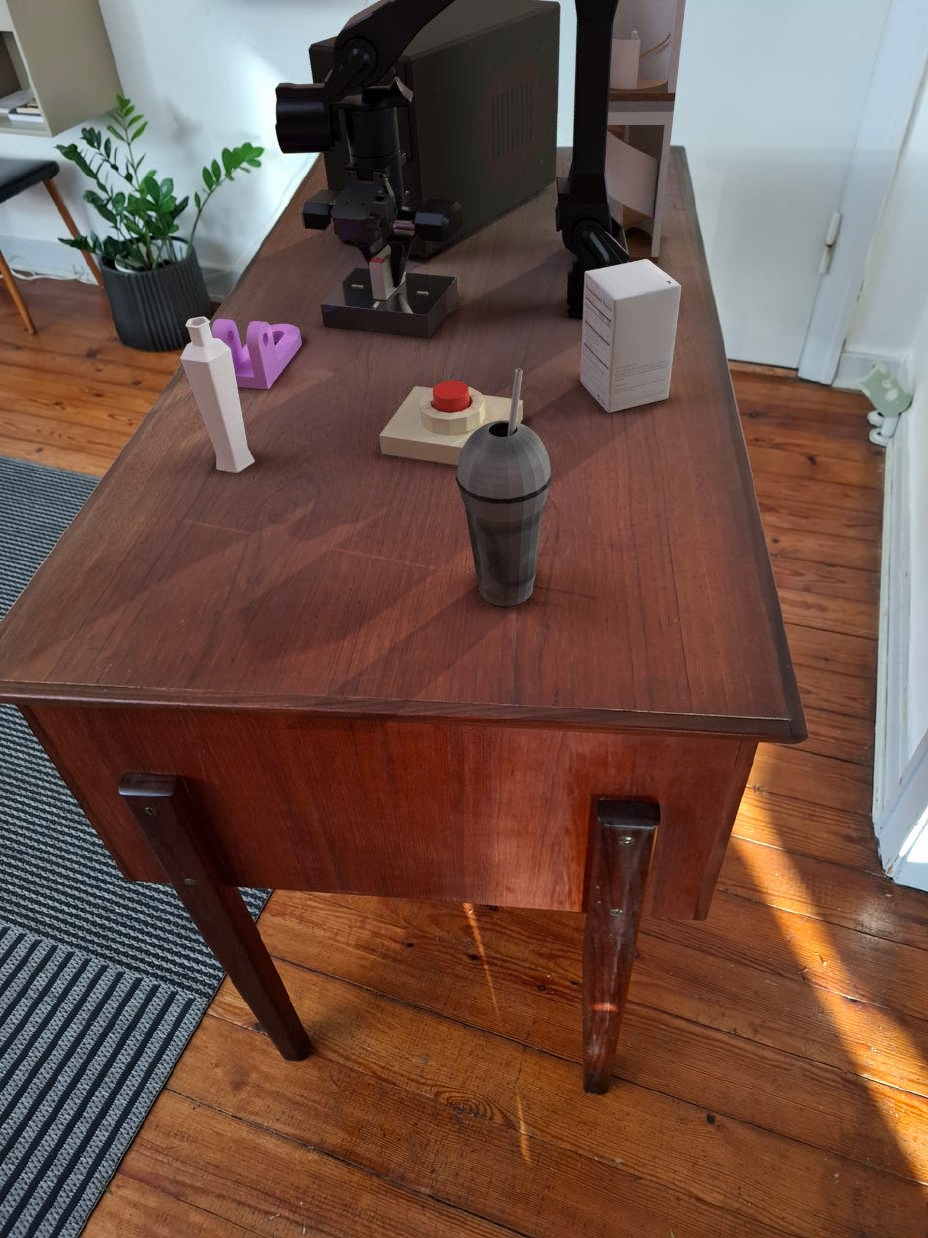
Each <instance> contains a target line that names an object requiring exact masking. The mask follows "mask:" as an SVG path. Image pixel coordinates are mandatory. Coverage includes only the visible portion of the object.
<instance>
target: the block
mask: <svg viewBox="0 0 928 1238" xmlns="http://www.w3.org/2000/svg"><path fill="white" fill-rule="evenodd" d="M433 388H434V387H427V386H418V385H415V386H414V387H413V388H412V390H411V391H410V392H409V394H408V395H407V397H406V398H405V399H404V400H403V402H402V403H401V405H400V406H399V407H398V409H397V410H396V412H395V413H394V414H393V415H392V417H391V419H389V422H387V424H386V425H385V427H384V428H383V430H382V431H381V432H380V434H379V442H380V450H381V454H382V455H388V456H395V457H400V458H401V457H402V458H407V459H413V460H414V459H415V460H419V461H420V460H421V461H426V462H427V461H428V462H434V463H440V464H445V465H451V466H452V465H453V466H458V462H459V456H460V452H461V450H462V447H463V446H464V444H465V443H466V441H467V440H468V438H469V437H470V436H471V435H472V434H473V432H475V431H476V430H477V429H479V428H480V427H482V426H483V425H485V424H488V423H490V422H494V421H499V420H509V419H510V411H511V403H512V398H511V397H502V396H495V395H487V394H482V393H481V392H480V391H478V390H477V389H476V388H473V387H471V386H468V388H469V407H468V408H467V409H465V410H463V411H460V412H454V413H445V412H439V411H437V410H436V409H435V408H434V402H433ZM523 419H524V400H523V399H519V405H518V413H517V421H516V422H518V423H520V424H522V421H523Z"/></svg>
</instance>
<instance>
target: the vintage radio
mask: <svg viewBox="0 0 928 1238" xmlns="http://www.w3.org/2000/svg"><path fill="white" fill-rule="evenodd" d="M561 8H562V7H561V4H560V2H559V1H555V0H455V1H454V2H453V3H451V4H450V5H449V6H448V7H447V8H445V9H444V10H443V11H442V12H441V13H440V14H438V15H437V16H436V17H435V18H434V19H432V20H431V21H430V22H429V23H428V24H427V25H425V26H424V27H423V28H422V29H421V30H420V31H419V33H418V34H417V35H416V36H415V37H414V39H413V40H412V41H411V43H410V44H409V45H408V47H407V48H406V49H405V51H404V52H403V53H402V54H401V56H400V57H399V58H398V60H397V61H396V62H395V63H394V64H393V66H392V67H391V68H390V69H389V71H388V72H387V73H386V74H385V75H384V77H383V78H382V79H381V80H380V81H379V82H378V83H377V84H375V85H373V86H372V87H377V86H389V85H390V84H391V83H392V82H393V80H394V78H395V77H398V78H399V79H400V81H401V82H402V84H403V85H404V86H406V87H407V88H408V89H409V90H411V91H412V92H413V94H414V95H413V99H412V102H411V105H410V106H409V107H396V108H397V120H398V131H399V142H400V153H405V157H406V163H405V164H404V165H402V175H403V186H404V190H406V191H408V192H409V200H408V201H407V202H406V203H405V207H414V208H421V207H422V206H423V205H424V204H425V203H426V202H427V201H428V200H429V199H442V200H454V201H458V203H459V204H460V206H461V207H462V209H463V217H464V225H463V226H462V227H461V228H460V229H459V230H458V231H457V232H456V233H455V234H454V235H453V236H452V237H451V239H450V240H449V241H445V242H436V241H425V240H421V239H420V238H419V237H417V238H416V239H415V240H414V243H413V245H412V248H411V250H410V253H409V255H413V256H415V257H418V258H427V257H429V256H432V254H433V253H435V252H437V251H438V250H440V249H442V248H444V247H445V246H447V245H448V244H450V243H452V242H454V241H456V240H457V239H459V238H461V237H462V236H464V235H466V234H467V233H469V232H471V231H473V230H475V229H476V228H478V227H479V226H482V225H483V224H486V223H487V222H489V221H490V220H492V219H493V218H495V217H496V216H498V215H500V214H503V212H505V211H507V210H509V209H510V208H513V207H514V206H516V205H518V204H519V203H521V202H523V201H525V200H527V199H528V198H529V197H531V196H533V195H535V194H537V193H540V192H541V191H542V190H543V189H545V188H547V187H548V186H550V185H552V184H554V183H555V182H556V177H557V161H558V159H557V156H558V155H557V153H558V120H559V119H558V117H559V87H560V86H559V85H560V84H559V82H560V51H561V50H560V49H561V48H560V47H561V45H560V43H561ZM337 36H338V35H335V36H333V37H329V38H326V39H322V40H320V41H317V42H314V43H310V45H309V47H308V57H309V58H308V59H309V65H310V71H311V78H312V84H316V83H324V80H325V78H326V77H327V75H328V74H329V72H330V71H331V70H333V69H334V67H335V62H334V57H333V49H334V42H335V40H336V37H337ZM362 90H363V88H362V87H356V88H355V89H354V90H353V91H352V92H350V93H349V94H348V95H347V96H356V95H362ZM341 112H342V118H343V140H342V142H336V141H335V149H334V152H325V153H322V154H323V155H322V156H323V163H324V168H325V177H326V183H327V190H336V191H343V190H344V189H345V185H346V166H347V165H349V164H350V163H351V160H350V153H349V145H348V137H347V129H346V121H345V113H344V109H341ZM332 224H333V225H332V226H333V232H334V235H336V236H338V234H337V231H336V228H335V225H334V223H333V222H332ZM393 232H394V228H393V227H392V229H382V237H383V248H385V247H386V246H387V245H388V243H387V242H386V239H387V238H388V237H389V236H390V235H391V234H392V233H393Z"/></svg>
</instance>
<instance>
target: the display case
mask: <svg viewBox="0 0 928 1238" xmlns="http://www.w3.org/2000/svg"><path fill="white" fill-rule="evenodd" d="M686 2H687V1H686V0H619V3H618V6H617V10H616V14H615V18H614V23H613V36H612V54H611V72H610V90H609V108H608V126H607V143H606V161H605V171H606V180H607V188H608V196H609V205H610V214H611V215H612V216H613V218H614V219H615V220H616V221H617V222H618V223H619V224H620V225H621V226H622V227H623V228H624V233H625V238H626V243H627V248H628V254H629V262H628V263H630V262H635V261H639V260H644V259H648V260H649V261H651V262H652V263H653V264H654V265H656V266H657V267H659V266H658V265H659V264H658V263H659V255H660V246H661V236H662V226H663V218H664V207H665V199H666V189H667V181H668V172H669V171H668V170H669V160H670V151H671V142H672V132H673V123H674V114H675V105H676V104H675V103H676V96H677V95H676V94H677V85H678V76H679V66H680V57H681V49H682V38H683V29H684V20H685V10H686Z"/></svg>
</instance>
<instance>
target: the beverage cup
mask: <svg viewBox="0 0 928 1238" xmlns="http://www.w3.org/2000/svg"><path fill="white" fill-rule="evenodd" d="M522 379H523V369H522V368H516V369H515V371H514V378H513V388H512V396H511V399H512V403H511V411H510V419H509V420H499V421H494V422H490V423H488V424H485V425H483V426H482V427H480V428H479V429H477V430H476V431H475V432H473V434H472V435H471V436H470V437H469V438H468V440H467V441H466V443H465V444H464V446H463V447H462V450H461V452H460V456H459V462H458V465H457V468H456V472H455V481H456V484H457V486H458V490H459V493H460V497H461V500H462V503H463V505H464V509H465V515H466V521H467V527H468V528H467V529H468V533H469V539H470V546H471V553H472V559H473V565H474V570H475V577H476V579H477V583H478V588H479V593H480V595H481V597H482V598H483V600H485V601H486V602H488V603H489V604H492V605H493V606H497V607H513V606H518V605H520V604H522V603H524V602H526V601H527V600H528V599H529V598H530V597H531V595H532V594H533V591H534V590H533V589H534V584H535V579H536V574H537V565H538V557H539V548H540V540H541V534H542V533H541V532H542V524H543V515H544V507H545V503H546V501H547V499H548V494H549V490H550V484H551V482H552V480H553V470H552V466H551V463H550V456H549V453H548V451H547V447H545V445H544V443H543V441H542V439H541V438H540V436H539V435H538V434H537V433H536V432H534V431H533V430H532V429H531V428H530V427H528V426H527V425H525V424H523V423H518V422H516V421H517V413H518V405H519V400H520V395H521V387H522Z"/></svg>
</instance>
